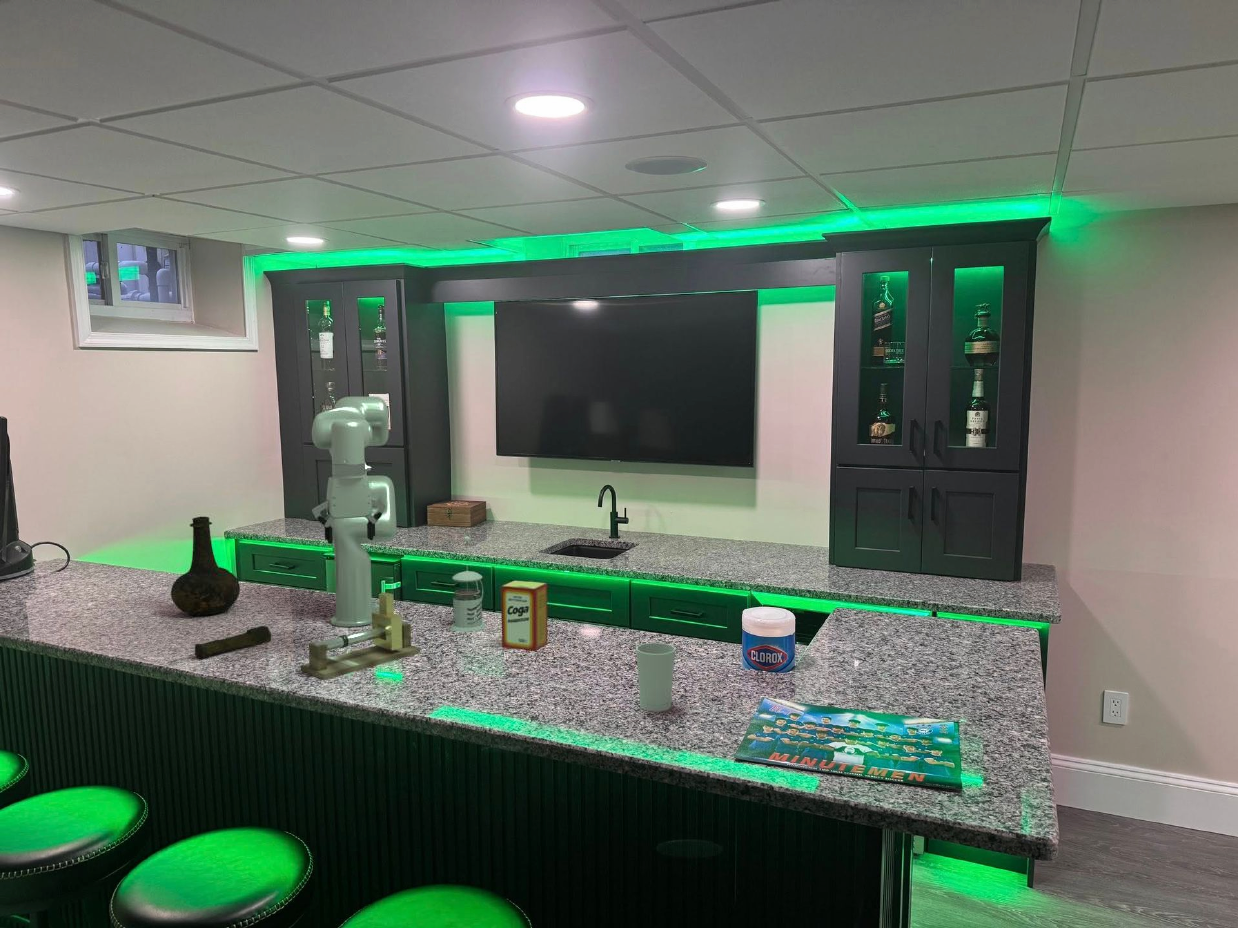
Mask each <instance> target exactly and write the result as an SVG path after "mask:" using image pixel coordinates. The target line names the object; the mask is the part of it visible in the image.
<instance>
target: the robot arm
mask: <svg viewBox="0 0 1238 928" xmlns="http://www.w3.org/2000/svg"><path fill="white" fill-rule="evenodd" d="M389 417H390V416H389V408H388V406H387V403H386V402H385V400H384V399H383V398H382V397H379V396H345V397H343V398H342V397H341V398H340V399H339V400H337V401H336V403H335V404H334V407H333V409H330V410H325V411H322V412H319V413H318V414H316V415H315V417H314V420H313V423H312V427H311V428H312V429H311V438H312V439H311V440H312V442H313V444H314V446H315V447H316V448H318V449H320V450H328V451H329V454H330V456H331V463H332V464H331V466H332V467H331V470H332V472H331V473H332V474H331V475H332V476H330V477H328V482H327V487H326V488H327V489H326V501H325V502H323V503H320V504H319V505H317V506H315V507H314V508H312V509H311V512H312V514H313V515H314V517H315V519H316V520H317V521H318V522H319V523H320V524H321V525H323V527H324V540H325V541H327V543H328V544H333V550H334V551H333V552H334V553H333V554H334V574H335V575H334V577H335V605H336V606H335V610H336V613H335V615H334V616H332V617H331V618H330V624H331V625H333V626H336V627H342V628H345V627H346V628H347V627H348V628H351V627H363V626H368V625H372V613H373V612H378V611H379V603H377V602H373V600H372V566H371V565H372V561H371V557H370V555H369V553H368V551H366V549H365V548H364V547H363V546H362V545H361V544H366V543H367V544H368V543H385V542H386V543H387V542H389V541H392V540H393V539H394V538H395V537H396V534H397V511H396V509H397V508H396V495H395V494H396V493H395V487H394V486H395V485H394V483H393V481H392V479H391V478H390V477H388V476H386V475H367V473H368V472H371V470H372V467H371V465H367V463H366V461H365V448H366V447H380V446H384V445H385V444H386V443H387V442H388V439H389V436H390V434H389V425H390V422H389V421H390V420H389ZM325 509H326V514H327V517H326V518H324V517H323V516H322V514H321V512H322V511H324V510H325Z"/></svg>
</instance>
